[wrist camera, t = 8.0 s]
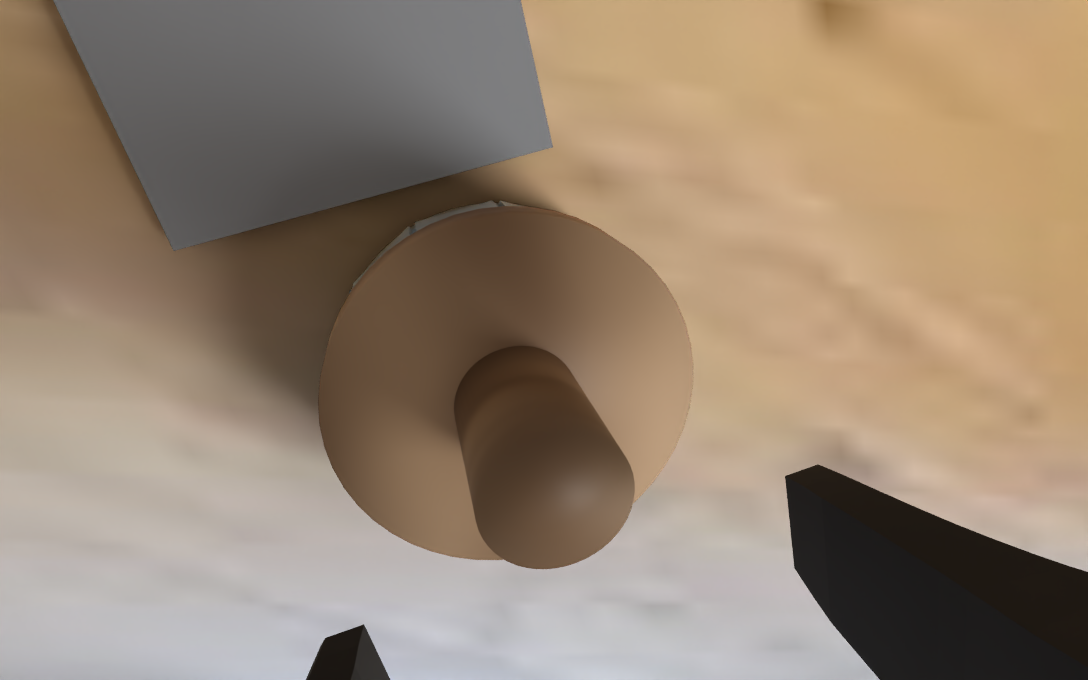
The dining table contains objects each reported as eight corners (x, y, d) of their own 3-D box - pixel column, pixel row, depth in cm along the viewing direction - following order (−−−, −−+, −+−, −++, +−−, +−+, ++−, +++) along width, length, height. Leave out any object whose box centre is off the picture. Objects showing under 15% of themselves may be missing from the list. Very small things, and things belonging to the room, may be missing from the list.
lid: (398, 575, 18) (402, 750, 13) (258, 275, 14) (194, 369, 10) (698, 465, 19) (802, 592, 14) (637, 157, 15) (750, 188, 11)
